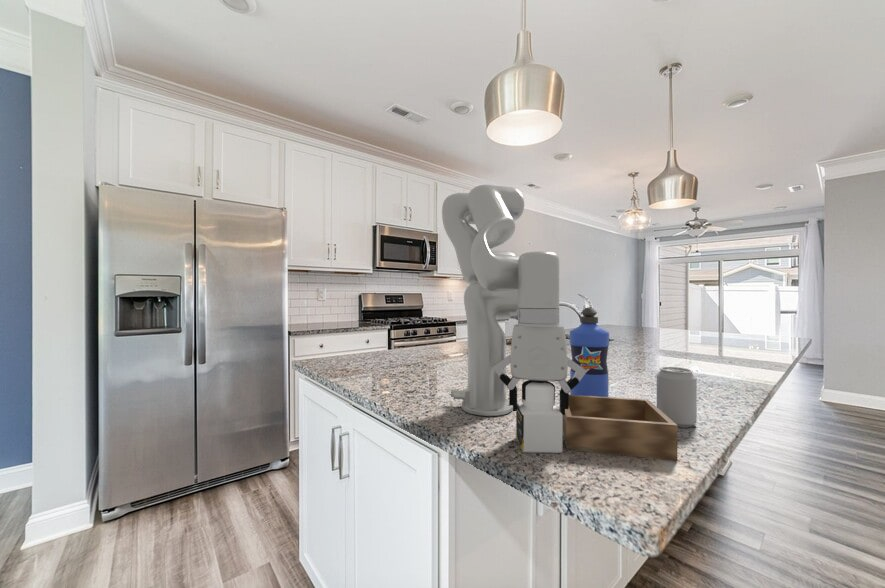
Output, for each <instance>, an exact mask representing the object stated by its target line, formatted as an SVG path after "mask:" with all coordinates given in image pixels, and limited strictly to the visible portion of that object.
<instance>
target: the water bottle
mask: <svg viewBox="0 0 885 588" xmlns="http://www.w3.org/2000/svg"><path fill="white" fill-rule="evenodd" d="M580 313H581V314H582V316H579V319H580V320H579V323H580V325H578V327H576V328H573V329H571V330H569V344H570V345H569V347H570V353H571V360H572V361H574V362H575V363H577V364H578V365H580V366H581V367H582V368H584V369H585V370H586V373H585V375H584V376H583V378H582V379H581V380H580V381H579V383H578V384H577V385H576V386H575V387H574V388H573V389H572V390H571V391H570V393H569V395H583V396H599V397H609V369H608V362H607V359H608V353H609V346H610V332H609V331H607V330H605V329H603V328H602V327H600V326H599V325H598V324H599V316H596V315H597V314H598V311H596V310H595V309H594V308H593V307H585V308H583V310H582V311H581V312H580ZM569 372H570V373H569V379H571V378H572V377H573V376H574V374H575V371H574V370H573V369H571V368H570V371H569Z"/></svg>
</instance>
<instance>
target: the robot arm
mask: <svg viewBox="0 0 885 588" xmlns="http://www.w3.org/2000/svg"><path fill="white" fill-rule="evenodd" d="M441 206H442V208H441V218H442V219H441V221H442V225H443V228H444V230H445V233H446V235H447V237H448V239H449V241H450V243H451V245H452V246H453V248H454V251H455V254H456V259H457V261H458V266H459V269H460V272H461V275H462V277H463V280H464V281H465V282H466V283H467V284H469V285H468V286H467V287H466V288H465V291H464V293H463V303H464V310H465V317H466V324H467V326H466V327H467V328H466V329H467V387H466V388H463V390H460V389H450V397H451V398H453V399H454V400H462V401H461V410H462V411H464V412H466V413H469V414H471V415H475V416H476V415H477V416H483V417H497V416H503V415H508V414H509V413H511V412H516V411H517V402H518V387H517V385H518V383H519V382H520V380H521V381H522V380H523V381H524V380H525V381H527V380H539V381H549V382H557V383H558V384H559V386H560V390H559V411H560V412H561V413H562V415H565V409H569V395H570V391H571V390H572V389H573V388H574V387H575V386H576V385H577V384H578V383H579V381H580V380H581V379H582V378H583V376H584V375H585V373H586V370H585V369H584V368H582V367H581V366H580V365H578V364H577V363H575V362H574V361H572V358H569V357H568V351H567V350H568V349H567V348H568V347H567V338H566V332H565V331H566V330H565V327H564V325H562V324H561V325H560V258H559V255H557V254H556V253H555V252H552V251H543V250H542V251H540V250H539V251H529V252H524V253H522V254H520V255H518V254H515V253H513V252H511V251H507V250H494V249H493V248H496V247H498V246H501V245H502V244H503V245H504V244H505V243H506V242H507V241H509V240H510V239H511V238H512V237H513V235H514V233H515V231H516V223H515V222H516V221H517V220H518V219H520V218H521V216H522V215H523V213H524V210H525V199H524V197H523V194H522V192H521V191H520V190H518V188H515V187H511V186H502V185H493V184H481V185H477V186H475V187H473V188H472V189H471V190H470V191H469V192H457V193H456V192H455V193H451V194H450V195H448V196H446V197H445V199H444V200H443V203H442V205H441ZM472 225H475V227H476V228H477V229H476V228H475V227H473V226H472ZM498 320H516V321H517V323H516V324H514V325H513V328H512V334H511V344H510V354H509V355H508V356H507V337H506V333H505V332H504V330H503V328H502V327H501V325H500V324H499V322H498ZM508 365H510V374H511V377H510V376H508V375H507V366H508ZM568 368H570V370H571V369H573V370H574V371H575V374H574V376H573V377H572V378H571V379H570V378H569V379H568V380H566V379H567V377H568V370H569V369H568ZM507 389H508V390H509V391H508V393H509V394H508V395H509V397H508V399H509V400H508V399H507Z"/></svg>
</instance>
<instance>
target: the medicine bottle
mask: <svg viewBox="0 0 885 588" xmlns="http://www.w3.org/2000/svg"><path fill="white" fill-rule="evenodd" d="M515 412H516V413H515V414H516V415H515V416H516V419H515V421H516V424H515V425H516V428H515V429H516V430H515V436H516V439H517V442H518V444H519V446H520V448H521V451H522V452H523V453H526V454H527V453H529V454H531V453H535V454H537V453H538V454H546V453H547V454H562V453H563V432H562V413H561V412H560V409H559V408H557V407H556V386H555V384H554V383H552V381H539V380H525V381H523V383H521V401H517V411H515Z"/></svg>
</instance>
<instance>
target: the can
mask: <svg viewBox="0 0 885 588" xmlns="http://www.w3.org/2000/svg"><path fill="white" fill-rule="evenodd" d="M697 390H698V389H697V377H696V376H695V375H694V371H693V370H692V369H689V368H684V367H677V366H661V367H659V372H658V373H656V407H657V408H658V409H660V410H661V411H662V412H663V413H664V414H665V415H666V416H668V417H669V418H670V419H671V420H672V421H673V422H674V423H675V424H677V428H690V427H692V426H693V425H695V424H697V418H698V417H697V403H698V402H697V400H698V399H697V396H698V395H697V393H698V392H697Z"/></svg>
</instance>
